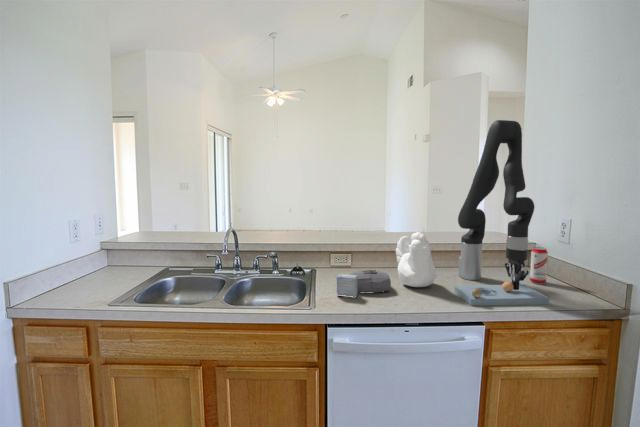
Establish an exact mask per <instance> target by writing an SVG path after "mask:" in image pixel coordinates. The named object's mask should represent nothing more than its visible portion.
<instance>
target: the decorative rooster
mask: <svg viewBox="0 0 640 427" xmlns="http://www.w3.org/2000/svg"><path fill="white" fill-rule="evenodd" d="M395 255H396V262H397V263H398V265H397V272H398V277H399V280H400V282H401V284H403V285H406V286H408V287H413V288H425V287H426V288H427V287H428V286H431V285H432V284H433V283H434V282H435V280H436V279H437V278H438V274H437V270H436V269H435V265H434V261H433V259H432V248H431V244H430V241H429V240H428V239H427V237H426V236H425V235H424V234H423V233H422V232H420V231H417V232H413V233H412V234H411V236H410V237H409V236H408V235H404V236H401V237H400V238H399V240H398V241H397V243H396V248H395Z"/></svg>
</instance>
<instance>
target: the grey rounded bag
mask: <svg viewBox="0 0 640 427" xmlns="http://www.w3.org/2000/svg"><path fill="white" fill-rule="evenodd" d="M349 275H357V293H358V292H382V293H384V292H383V291H388V292H390V291H391V287H392V286H391V278H390V275H389V274H388V273H387V272H384V271H379V270H376V269H375V270H373V269H370V270H359V271H356V272H352V273H350V274H349Z"/></svg>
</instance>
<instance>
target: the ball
mask: <svg viewBox="0 0 640 427" xmlns="http://www.w3.org/2000/svg"><path fill="white" fill-rule="evenodd" d="M501 285H502V287H503V289H504V290H505V291H507V292H510V291H512V290H513V288H514V286H513V284H512V281H511V282H510V281H505V282H503V283H502V284H501Z"/></svg>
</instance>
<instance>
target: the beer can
mask: <svg viewBox="0 0 640 427" xmlns="http://www.w3.org/2000/svg"><path fill="white" fill-rule="evenodd" d="M548 253H549V252H548V251H547V248H546V247H542V246H541V247H540V246H534V247H533V248H532V250H531V254H530V255H531V256H530V271H529V273H530V274H529V280H530V281H531V283H532V284H535V285H544V284H546V282H547V277H548V276H547V272H548V257H549V256H548V255H549V254H548Z"/></svg>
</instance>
